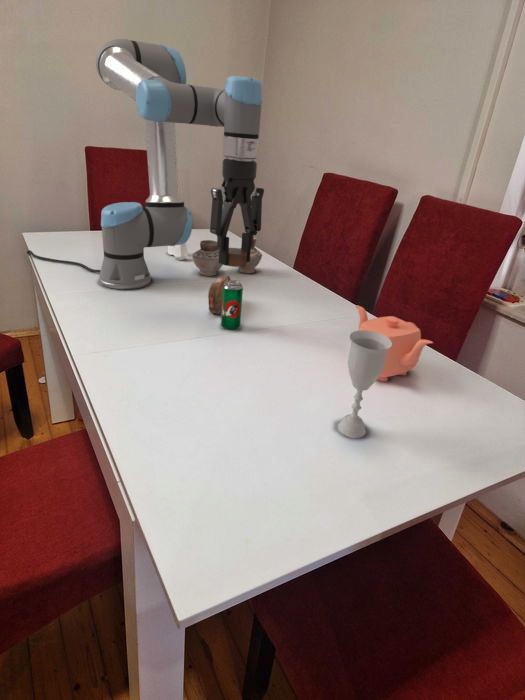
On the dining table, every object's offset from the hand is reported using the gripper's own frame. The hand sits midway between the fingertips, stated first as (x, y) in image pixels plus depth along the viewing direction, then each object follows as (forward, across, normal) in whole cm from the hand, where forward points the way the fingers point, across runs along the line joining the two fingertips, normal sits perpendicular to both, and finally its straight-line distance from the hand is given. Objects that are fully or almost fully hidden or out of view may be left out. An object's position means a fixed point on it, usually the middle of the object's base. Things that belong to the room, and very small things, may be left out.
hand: (234, 262), depth 109 cm
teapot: (+18, +16, -36) cm, 43 cm away
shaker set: (+17, +21, +61) cm, 67 cm away
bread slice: (+17, +5, +12) cm, 22 cm away
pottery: (+17, +27, +38) cm, 50 cm away
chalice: (+18, -8, -47) cm, 51 cm away
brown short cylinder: (0, 0, 0) cm, 0 cm away
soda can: (+17, 0, 0) cm, 17 cm away
